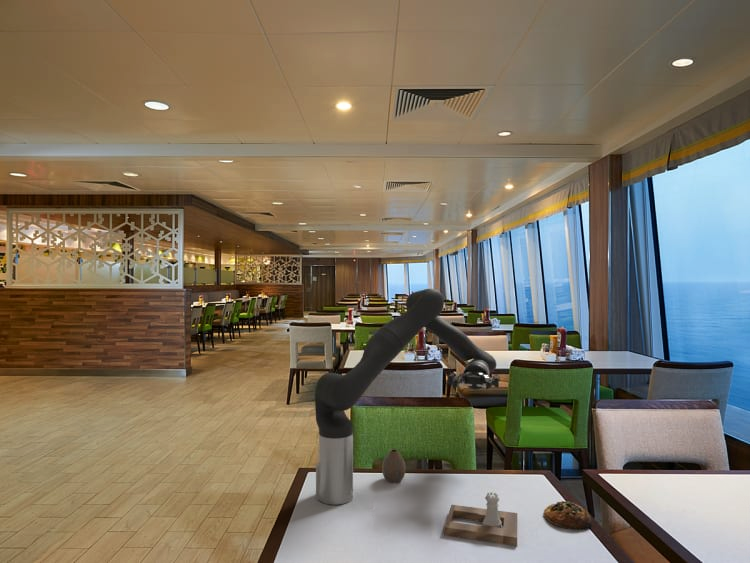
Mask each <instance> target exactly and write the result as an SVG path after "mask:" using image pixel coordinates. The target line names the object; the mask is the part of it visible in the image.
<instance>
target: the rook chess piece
mask: <svg viewBox="0 0 750 563" xmlns="http://www.w3.org/2000/svg"><path fill="white" fill-rule="evenodd" d="M484 498H485V500H486V504H485V505H486V509H487V513H486V516H485V519H484V520H483V522H482V524H483V525H484V526H491V527H498V528H503V525H502V522H501V520H500V518H499V516H498V511H499V510H498V509H499V504H498V502H499V501H500V497H499V495H498V493H496V492H492V491H490V492H487V493H486V496H485V497H484Z"/></svg>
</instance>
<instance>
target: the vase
mask: <svg viewBox="0 0 750 563" xmlns="http://www.w3.org/2000/svg"><path fill="white" fill-rule="evenodd" d="M406 470H407V469H406V463H405V460H404V458H403V457H402V455H401V454H400V452H399V450H398V449H395V448H393V449H392V448H391V449H390V450H389V452H388V453H387V455H386V456H385V458H384V459H383V461H382V466H381V471H382V475H383V477H384V479H385V481H387V483H391V484H397V483H398V484H399V483H400V482H401V481H402V480H403V479H404V477H405V475H406Z"/></svg>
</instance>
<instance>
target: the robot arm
mask: <svg viewBox="0 0 750 563" xmlns="http://www.w3.org/2000/svg"><path fill="white" fill-rule="evenodd" d="M444 305H445V299H444V296H443V294H442V292H440V290H438V289H435V288H425V289H422V290H418V291H415V292H412V293H410V294H409V295H408V296H407V298H406V301H405V306H406V307H405V308H406V311H405V312H403V313H402V314H400V315H398V316H396V317H394V319H391V320H390V321H389V322H386V323H385V324H383V325H382V326H381V327H380V328H379V329H378V330H377V331H375V332H374V333H373V334H372V335H371V337H370V338H369V339H368V340H367V341H366V344H365V346H364V348H363V349H364V350H363V353H362V357H361V359H360V360H359V361H358V362H357V364H356V365H355V366H353V367H352V369H351V370H349V371H348V372H347V373H345V374H341V373H335V372H326V373H324V374H322V375H321V376H320V377H319V378H318V380H317V382H316V385H315V390H314V406H315V422H316V425H317V427H318V461H317V462H316V464H315V500H317V501H320V502H322V503H323V504H326V505H335V506H336V505H344V504H346V503H349V502H351V501H352V500H353V498H354V497H353V496H354V426H353V422H352V420H350V419H349V417H348V416H347V414H346V412H345V411H348V410H350V409H351V408H353V407H354V406H355V405H356V404H357V403H358V402H359V400H360V399H361V398H362V396H363V395H364V393H366V391H367V389H368V388H369V387H370V386H371V384H372V383H373V382H374V381H375V379H376V378H377V377H378V376H379V375H380V374H381V373H382V372H383V371H384V369H385V368H386V367H387V366H388V365H389V364H390V363H391V362H392V361H394V359H396V357H398V356H399V354H400V353H401V352H402V351H403V350H404V348H406V346H407V345H408V344H409V343H411V341H412V340H413V339H414V338H415V337H416V336H417V334H419V332H420V331H422V330H423V329H424V328H426V329H427V330H429V331H430V332H431V333H432V334H433V335H435V336H436V337H437V338H438V339H440V341H442V343H444V344H445V345H446V346H447V347H448V348H449V349H450V350H451V351H452V353H453V354H455V356H456V357H457V358H458V359H459V360H460V361H462V362H467V363H466V364H465V366H464V370H463V373H459V374H458V375H457V373H456V372H451V373H450V374H448V378H447V379H448V382H447V383H448V385H450V386H453V387H454V388H458V387H459V386H461V387H467V388H469V389H471V390H475V391H476V390H481V389H483V388H485V389H486V390H489V389H491V388H493V387H494V388H499V387H500V385H499V384H500V383H499V380H500V379H499V375H498V374H494V375H492V377H491V376H490V373H493V372H494V371H495V370H496V369H497V361H496V358H494V356H493V355H492V354H490V353H488V352H487V351H485V350H483V349H482V348H480V347H478V346H477V345H476V344H475V343H474V342H473V341H472V340H471V339H470V338H469V337H468V336H467V334H465V333H464V332H463V331H462V330H461V329H459V328H457V327H456V326H454V325H453V324H451V323H449V322H447V321H445V320H444V319H442V318H441V317H440V316H439V315H440V314H441V313H442V311H443V308H444Z"/></svg>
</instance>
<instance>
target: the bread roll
mask: <svg viewBox="0 0 750 563" xmlns="http://www.w3.org/2000/svg"><path fill="white" fill-rule="evenodd" d="M542 515H543V516H544V517H545V520H546V521H548V522H549V523H551V525H553V526H556V527H558V528H562V529H566V530H571V531H583V530H588V529H590V527H591V525H592V517H591V515H590V513H589V512H588V511H587V510H586V508H584V507H583V506H580V505H579V504H576V503H574V502H571V501H565V500H563V501H557V502H556V503H551V504H550V505H548V506H547V507H546V508H545V509H544V510H543V514H542Z"/></svg>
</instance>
